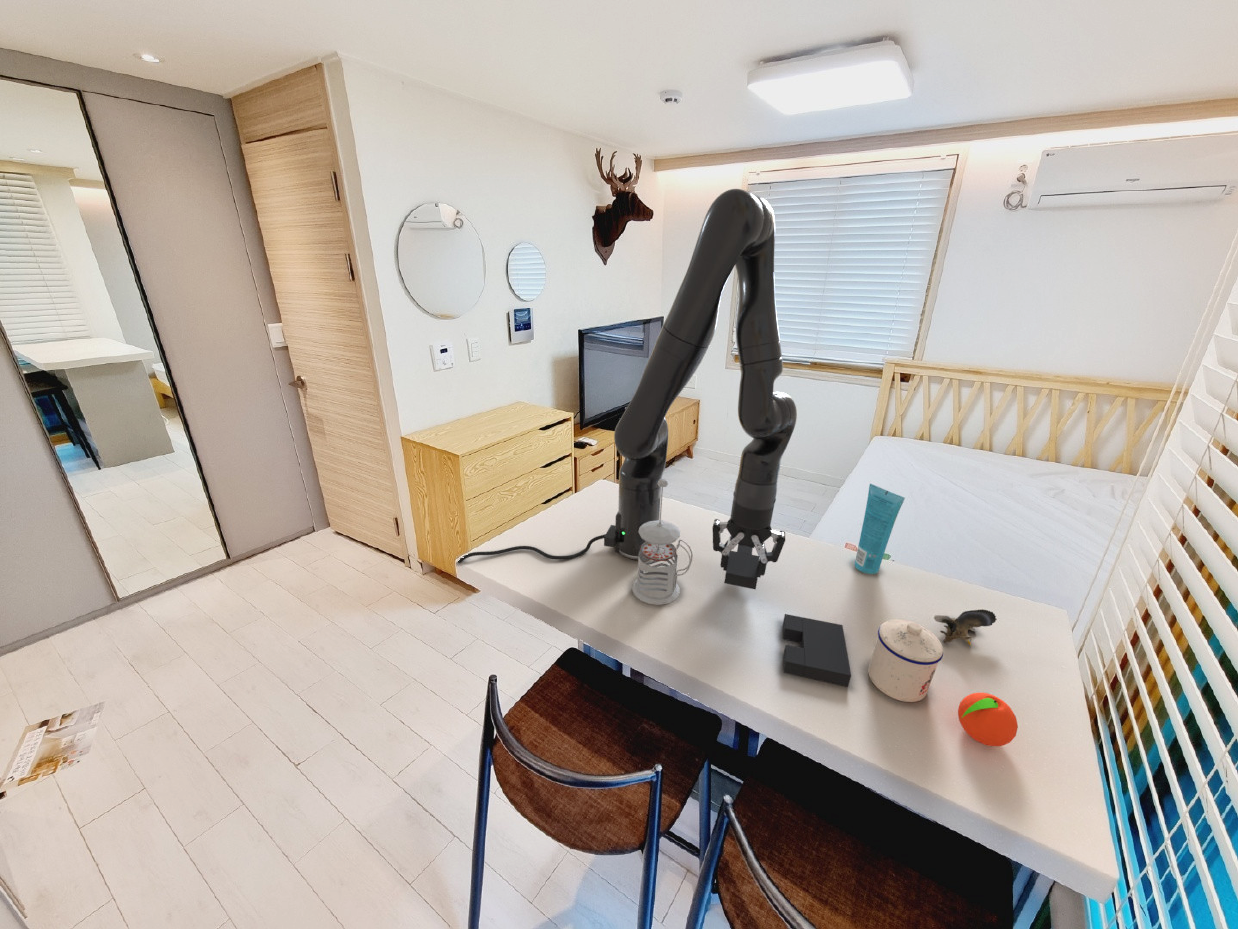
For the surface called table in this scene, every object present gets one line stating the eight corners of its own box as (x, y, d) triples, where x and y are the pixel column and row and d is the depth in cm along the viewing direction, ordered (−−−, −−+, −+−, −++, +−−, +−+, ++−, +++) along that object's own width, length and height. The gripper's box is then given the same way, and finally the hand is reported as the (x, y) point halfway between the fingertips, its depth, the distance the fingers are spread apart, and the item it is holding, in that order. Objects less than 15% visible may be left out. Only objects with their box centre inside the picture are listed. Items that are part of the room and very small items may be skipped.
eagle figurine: (980, 659, 85) (1005, 631, 89) (962, 621, 85) (989, 595, 89) (936, 652, 92) (962, 626, 96) (920, 617, 92) (946, 592, 96)
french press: (640, 570, 108) (645, 464, 98) (693, 582, 105) (704, 474, 94) (625, 598, 100) (629, 485, 89) (682, 612, 96) (693, 497, 86)
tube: (887, 572, 109) (910, 493, 101) (877, 580, 107) (899, 500, 99) (855, 556, 115) (874, 480, 107) (844, 564, 112) (863, 487, 104)
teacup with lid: (931, 713, 77) (953, 655, 72) (866, 692, 80) (883, 636, 75) (922, 658, 87) (942, 605, 82) (865, 642, 90) (880, 589, 85)
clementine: (971, 762, 70) (987, 727, 67) (934, 719, 76) (948, 685, 73) (1020, 754, 71) (1039, 719, 68) (980, 712, 77) (995, 678, 74)
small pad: (755, 589, 97) (757, 579, 96) (724, 583, 98) (725, 572, 97) (758, 558, 106) (760, 548, 105) (729, 552, 108) (731, 542, 107)
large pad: (783, 672, 83) (785, 661, 82) (782, 624, 94) (784, 613, 93) (848, 687, 81) (851, 675, 80) (839, 635, 91) (842, 624, 90)
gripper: (793, 495, 95) (778, 568, 102) (717, 483, 99) (708, 554, 106) (794, 514, 89) (778, 591, 96) (713, 501, 92) (703, 575, 99)
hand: (741, 571), depth 101 cm, fingers closed on small pad, 6 cm apart
